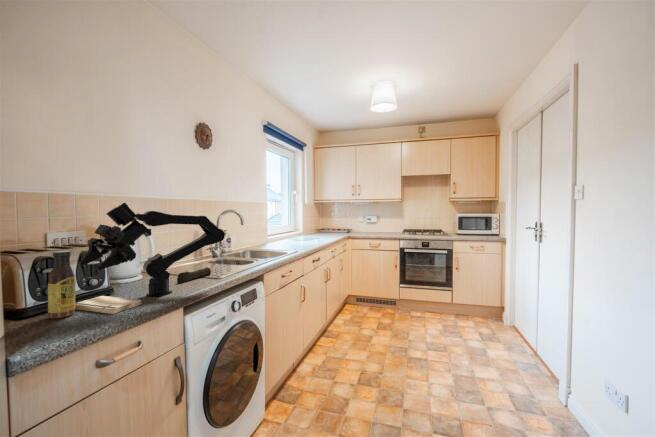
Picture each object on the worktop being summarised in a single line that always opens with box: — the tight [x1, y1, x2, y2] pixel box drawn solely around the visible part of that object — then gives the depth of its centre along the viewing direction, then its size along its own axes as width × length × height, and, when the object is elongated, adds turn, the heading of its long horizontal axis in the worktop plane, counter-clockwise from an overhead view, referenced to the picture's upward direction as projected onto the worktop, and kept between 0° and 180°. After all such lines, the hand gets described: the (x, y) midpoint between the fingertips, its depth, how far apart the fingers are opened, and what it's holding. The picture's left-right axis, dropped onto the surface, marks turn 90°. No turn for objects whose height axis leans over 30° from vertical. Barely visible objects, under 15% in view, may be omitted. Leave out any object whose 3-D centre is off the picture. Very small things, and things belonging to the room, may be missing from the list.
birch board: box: [75, 295, 142, 315], centre depth 99 cm, size 10×18×2 cm, turn 74°
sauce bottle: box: [47, 250, 76, 320], centre depth 90 cm, size 7×6×20 cm
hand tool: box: [176, 267, 212, 284], centre depth 140 cm, size 19×4×5 cm, turn 158°
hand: (88, 266), depth 95 cm, fingers open, 9 cm apart
